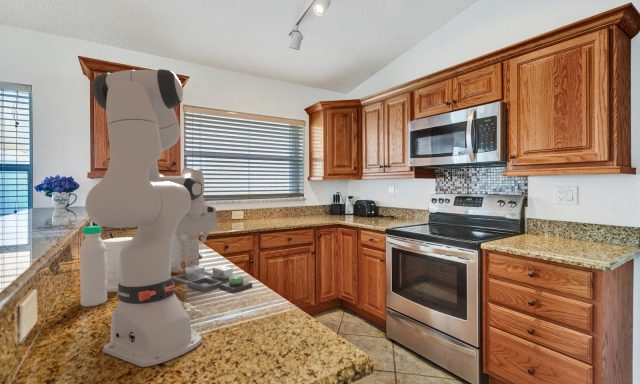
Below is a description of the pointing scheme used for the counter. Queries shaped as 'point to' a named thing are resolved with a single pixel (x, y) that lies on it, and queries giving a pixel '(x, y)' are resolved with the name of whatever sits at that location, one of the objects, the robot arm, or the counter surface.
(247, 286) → the console
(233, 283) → the button
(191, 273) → the billet
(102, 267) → the water bottle
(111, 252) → the decorative container
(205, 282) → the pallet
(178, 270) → the cracker box
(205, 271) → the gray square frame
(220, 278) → the block
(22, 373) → the counter surface
